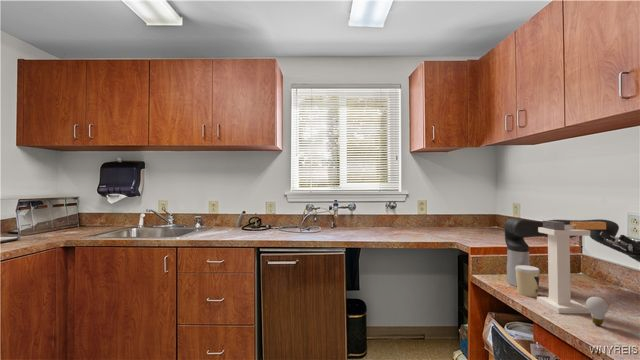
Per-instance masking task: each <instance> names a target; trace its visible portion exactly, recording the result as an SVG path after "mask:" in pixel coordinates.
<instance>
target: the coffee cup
mask: <svg viewBox="0 0 640 360" xmlns="http://www.w3.org/2000/svg"><path fill="white" fill-rule="evenodd" d="M515 269H516V280H517V286H516V288H517V294H519V295H520V296H524V297H530V298H537V297H539V287H540V272H541V270H540V268H538V267H535V266H534V265H533V266H532V265H529V266H527V265H517V266H516V267H515Z"/></svg>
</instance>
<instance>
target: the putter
mask: <svg viewBox="0 0 640 360" xmlns="http://www.w3.org/2000/svg"><path fill="white" fill-rule="evenodd" d="M542 222H543V228H546V229H551V230H564V229H606V222H570V225H564V222H557V221H548V220H542Z"/></svg>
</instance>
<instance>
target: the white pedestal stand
mask: <svg viewBox="0 0 640 360" xmlns="http://www.w3.org/2000/svg"><path fill="white" fill-rule="evenodd" d="M538 232H540V233H545V234H548V237H547V259H548V260H547V263H548V264H547V267H548V269H547V271H548V274H547V275H548V279H547V280H548V296H537V297H536V302H537V303H539V304H541V305H543V306H545V307H547V308H548V309H550V310H551V311H554V312H555V313H557V314H591V312H590V311H589V309H588V308H587V306H586V305H584V304H581V303H579V302H577V301H576V300H573V299H571V296H572V295H571V253H570V250H571V249H570V248H571V245H570V244H571V243H570V240H571V238H570V236H576V237H578V236H580V237H581V236H586V237H587V236H589V237H590V230H584V229H564V230H551V229H546V228H543V227H538Z"/></svg>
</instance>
